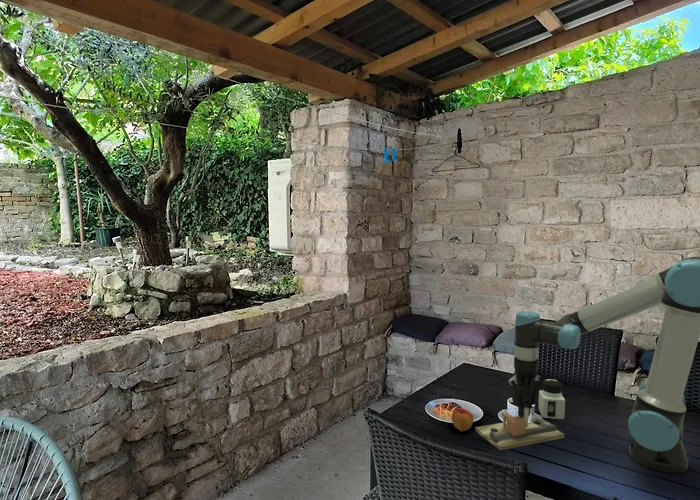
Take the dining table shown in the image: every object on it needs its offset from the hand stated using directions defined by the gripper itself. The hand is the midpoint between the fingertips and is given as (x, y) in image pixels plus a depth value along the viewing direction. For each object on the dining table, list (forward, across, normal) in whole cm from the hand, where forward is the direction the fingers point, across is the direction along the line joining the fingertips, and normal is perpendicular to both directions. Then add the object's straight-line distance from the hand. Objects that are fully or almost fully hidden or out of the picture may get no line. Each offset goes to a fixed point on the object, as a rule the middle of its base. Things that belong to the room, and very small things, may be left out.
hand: (523, 425), depth 152 cm
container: (+5, -22, -12) cm, 26 cm away
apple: (+5, +17, -12) cm, 21 cm away
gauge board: (+5, 0, -3) cm, 5 cm away
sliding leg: (+3, +3, -2) cm, 5 cm away
